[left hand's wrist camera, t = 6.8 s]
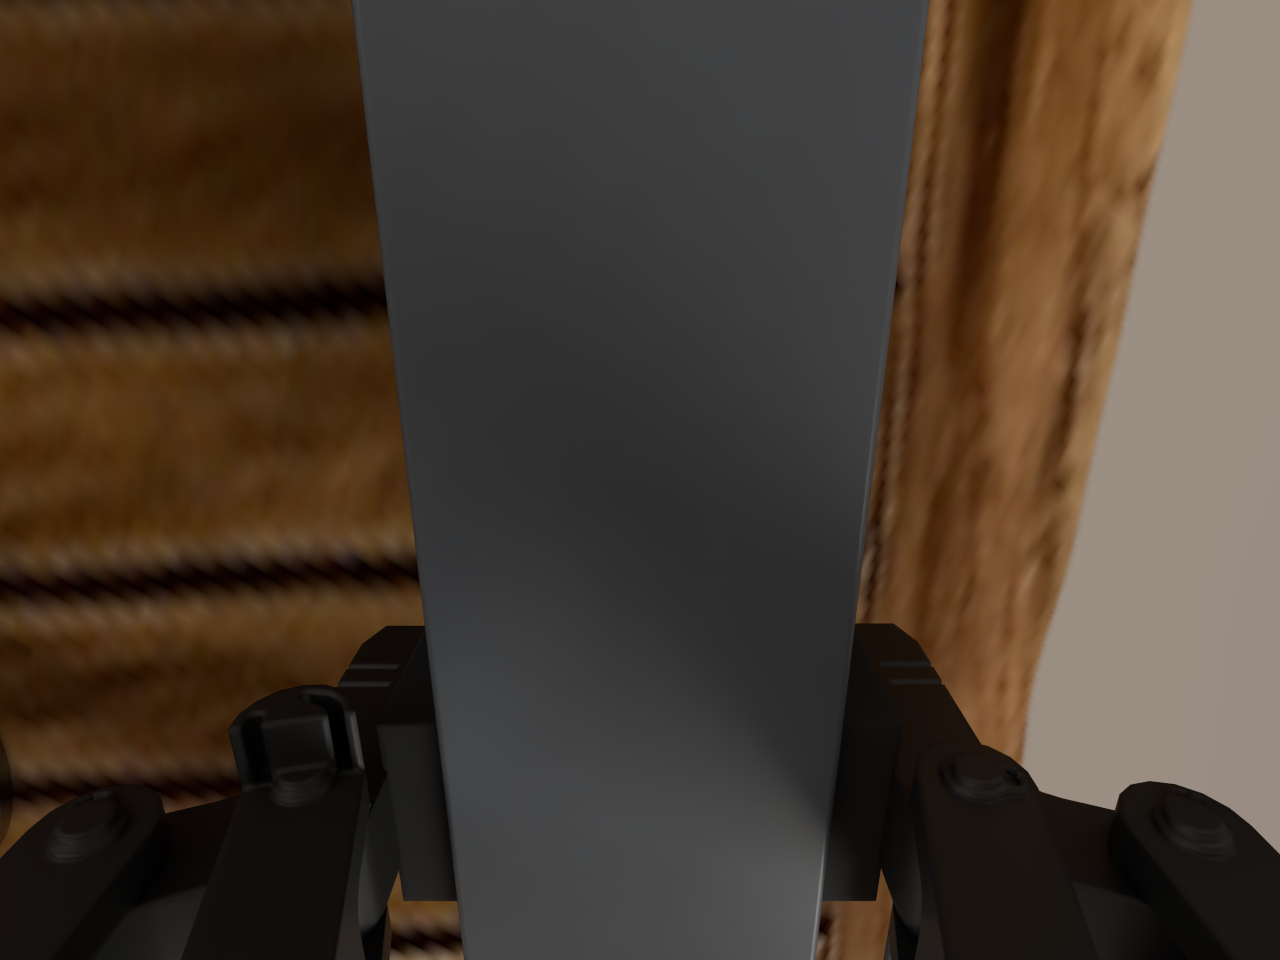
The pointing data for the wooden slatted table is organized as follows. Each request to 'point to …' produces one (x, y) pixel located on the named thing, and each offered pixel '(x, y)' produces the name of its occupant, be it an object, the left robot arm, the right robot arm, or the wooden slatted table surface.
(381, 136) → the post
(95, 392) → the wooden slatted table surface
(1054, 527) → the wooden slatted table surface
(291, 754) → the left robot arm
